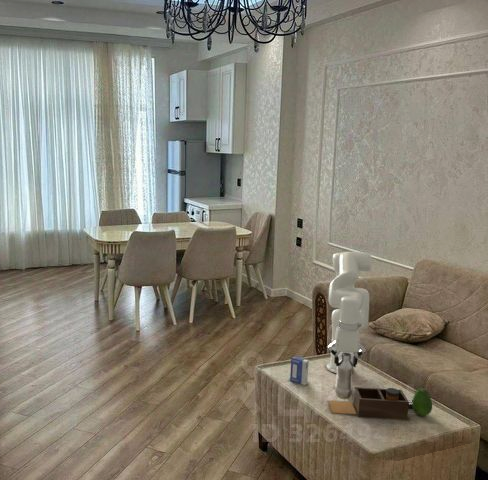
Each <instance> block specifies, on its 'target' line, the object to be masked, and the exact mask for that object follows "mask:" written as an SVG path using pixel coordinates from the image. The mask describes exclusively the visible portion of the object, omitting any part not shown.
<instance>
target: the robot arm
mask: <svg viewBox="0 0 488 480" xmlns="http://www.w3.org/2000/svg"><path fill="white" fill-rule="evenodd" d="M332 266H333V269H334V272H335V278H334V279H332V281H330V284H329V286H328V299H327V300H328V304H329V306H330V307H331V308H334V309H333V311H332V312H331V327H332V328H331V343H329V345H328V346H327V349H328V350H329V351H330V361H329V362H328V363H326V369H327V370H328V371H329V372H331V373H334V374H337V366H338V364H339V357H338V355H339V354H340V352H353V353H354V356H353V368H356V367H357V365H358V359H359V358H360V357H361V356H362V355H363V354H364V353H365V352H366V351H367V349H366V347H365V346H364V345H363V344H361V335H360V331H364V330H366V329H368V326H369V321H370V320H369V317H370V292H369V291H368V289H366V288H362V287H355V284H356V283H357V282H358V281H359V278H360V273H359V272H370V271H371V269H372V266H373V257H372V255H371V254H370V253H369V252H363V251H344V252H343V251H342V252H336V253H334V254H333V255H332Z"/></svg>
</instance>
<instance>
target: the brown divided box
mask: <svg viewBox="0 0 488 480" xmlns="http://www.w3.org/2000/svg"><path fill="white" fill-rule="evenodd" d="M353 389H354V390H353V401H352V404H353V407H354V409H355V412H356V415H357V416H358V417H359V418H374V419H375V418H376V419H391V420H408V417H409V407H410V406H409V405H410V401H409V399H408V398H407V396H406V395H405V393H404V391H403V390H402V389H398V390H399V399H398V400H386V389H387V388H375V387H362V386H361V387H359V386H355V387H354V388H353Z"/></svg>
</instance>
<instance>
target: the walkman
mask: <svg viewBox="0 0 488 480" xmlns="http://www.w3.org/2000/svg"><path fill="white" fill-rule="evenodd" d="M309 362H310V360H309V359H305V358H302V357H298V356H296V355H295V356H292V357H291V358H290V372H289V373H290V375H289V376H290V377H289V381H290V382H293V383H296V384H300V385H303V386H305V385H307V384H308V380H309V365H310V363H309Z"/></svg>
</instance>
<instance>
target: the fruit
mask: <svg viewBox="0 0 488 480" xmlns="http://www.w3.org/2000/svg"><path fill="white" fill-rule="evenodd" d="M412 397H413V398H412V401H411V406H412V410H413V411H414V413H415V414H416V415H418V416H420V417H425V416H428V415H429V414H430V413H431V412H432V411H433V401H432V398H431V395H430V393H429V391H428V390H427V389H426V388H421V387H420V388H418V389H417V390H416V391H415V393H414V394H413V396H412Z"/></svg>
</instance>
